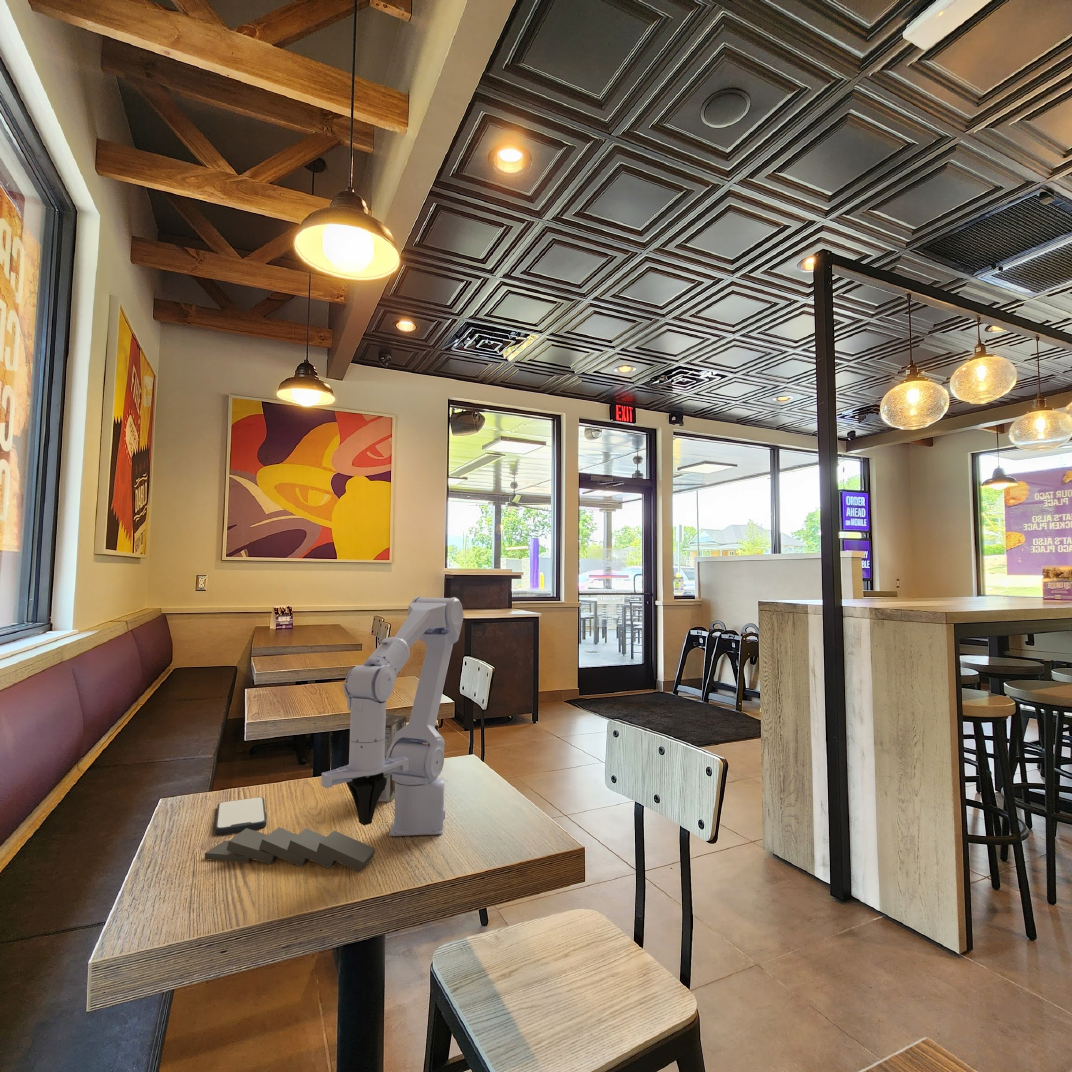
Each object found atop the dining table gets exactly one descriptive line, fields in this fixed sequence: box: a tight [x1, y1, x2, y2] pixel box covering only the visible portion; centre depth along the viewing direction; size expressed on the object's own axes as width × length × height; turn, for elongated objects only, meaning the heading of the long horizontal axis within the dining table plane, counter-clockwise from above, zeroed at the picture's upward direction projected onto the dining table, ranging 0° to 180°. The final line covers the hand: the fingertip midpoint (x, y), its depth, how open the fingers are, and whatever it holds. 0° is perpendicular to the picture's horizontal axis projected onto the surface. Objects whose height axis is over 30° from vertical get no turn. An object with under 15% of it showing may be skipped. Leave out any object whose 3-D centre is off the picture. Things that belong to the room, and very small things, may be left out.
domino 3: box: [287, 827, 338, 870], centre depth 99 cm, size 2×5×8 cm
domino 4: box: [317, 829, 377, 873], centre depth 99 cm, size 2×5×8 cm
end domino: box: [204, 840, 254, 864], centre depth 101 cm, size 2×5×8 cm
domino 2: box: [259, 826, 311, 868], centre depth 100 cm, size 2×5×8 cm
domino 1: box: [227, 828, 279, 866], centre depth 101 cm, size 2×5×8 cm
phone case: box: [214, 796, 267, 836], centre depth 117 cm, size 9×2×16 cm
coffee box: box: [378, 714, 407, 803], centre depth 131 cm, size 9×6×16 cm
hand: (365, 822), depth 99 cm, fingers closed
